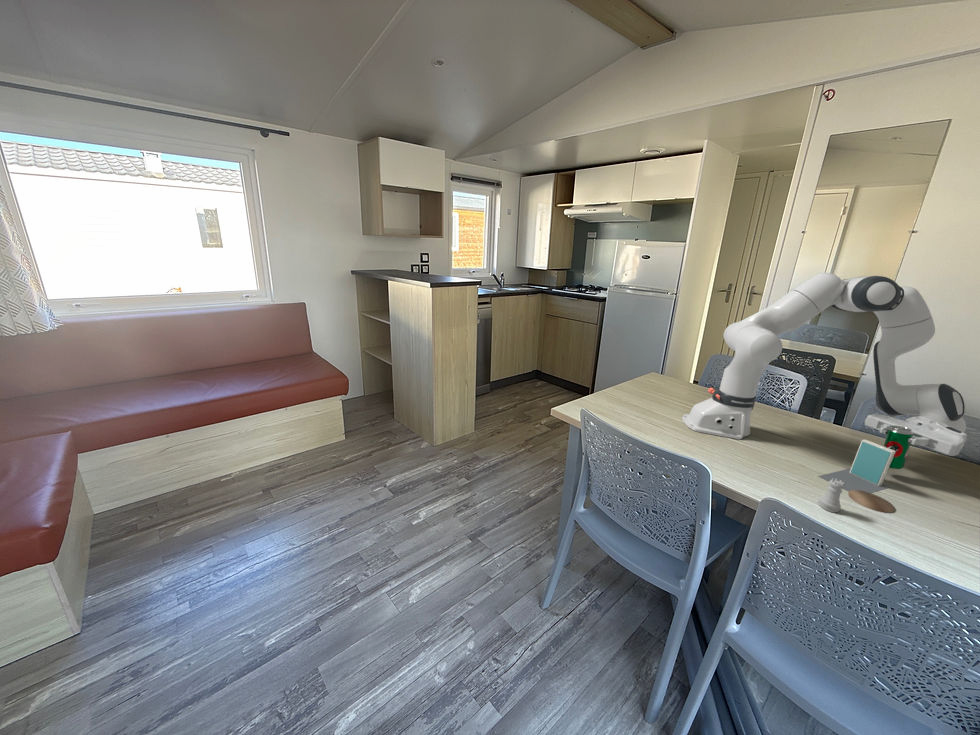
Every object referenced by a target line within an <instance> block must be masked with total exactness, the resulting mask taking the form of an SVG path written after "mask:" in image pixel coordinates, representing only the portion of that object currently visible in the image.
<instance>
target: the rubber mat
mask: <svg viewBox="0 0 980 735" xmlns="http://www.w3.org/2000/svg"><path fill="white" fill-rule="evenodd" d="M850 469H851V468H846V469H842V470H838V471H833V472H830V473H826V474H822V475H818V476H817V477H818V478H821V479H822V480H824V481H826V482H828V483H829V481H830V480H832V478H834V480H835V479H838V481H840V480H841V481H843V482H844V483H845V484H844V485H845V488H844V489H843V490H844V491H846V492H847V493H849V491H851V490H859V491H864V492H868V493H871V494H874V493H877V492H880V491H884V490H886V489H890V488H891V487H890V486H888V485H886V484H884V483H882V485H880V486H877V485H875V484H873V483H871V482H869V481H867V480H864V479H862V478H860V477H858V476H856V475H854V474H851V473H849V472H850ZM843 482H842V483H843Z"/></svg>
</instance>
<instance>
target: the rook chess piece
mask: <svg viewBox="0 0 980 735" xmlns="http://www.w3.org/2000/svg"><path fill="white" fill-rule="evenodd" d="M842 482H843V481H841V480H840V481H838V479H835V480H834V478H832V480H830V481H829V482H828V484H829V486H827V488H828V489H827V491H826V493H825V494H824V495H822V496H821V497H819V499H818V501H817V504H818V506H819V507H820V508H821V509H823V510H825V511H827V512H829V513H839V512H840V511H841V507H842V505H841V504H840V496H841V494H842V493H843V490H844V488H845V485H844V484H845V483H844V482H843V483H842Z"/></svg>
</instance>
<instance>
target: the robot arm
mask: <svg viewBox="0 0 980 735" xmlns="http://www.w3.org/2000/svg"><path fill="white" fill-rule="evenodd" d="M923 297H924V296H922V294H921V293H920V292H919V290H917V288H915V287H913V286H900V285H899V284H898V283H897V282H896V281H895V280H893V279H891V278H890V277H887V276H883V275H872V276H871V275H870V276H857V277H852V278H845V279H841V277H839V276H838V275H836V274H833V273H831V272H821V273H818V274H816V275H814V276H811V277H810V278H808V279H806V280H805V281H803V282H801V283H800V284H798V285H797V286H795V287H794V288H793V289H791V290H790V291H788V292H787V293H786V294H784V295H783V296H782V297H780V298H778V299H777V300H776V301H775V302H773V303H772V304H771V305H770V304H769V306H767V307H765V308H763V309H762V310H759V311H758V312H756V313H754V314H752V315H750V316H749V317H748V316H747V317H746V318H744V319H742V320H739V321H736V322H733V323H731V324H729V325H728V326H727V327H725V330H724V332H723V339H724V342H725V344H726V345H727V346H728V347H729V349H731V350H732V351H734V352H735V353H734V357H733V359H732V360H731V363H730V364H729V365H728V366H726V367H725V368H724V370H723V374H722V378H721V380H720V381H721V382H720V386H719V388H718V389H716V390H715V388H713V387H709V388H708V390H707V391H708V393H710V395H712V396H711V397H710V398H707V399H705V400H703V401H701V402H697V403H696V404H694V405H693V406H692V408H691V410H690V412H689V413H684V414H683V415H682V418H681V420H682V421H683V423H684V424H685V426H686V427H688V428H690V430H693V431H694V432H698V433H701V434H702V433H703V434H709V435H714V436H718V437H719V436H720V437H724V438H731V439H735V440H742V439H743V438H744V437H747V436H750V435H751V415H752V411H753V409H754V407H755V403H756V398H757V397H756V393H757V390H758V387H759V383H760V381H761V377H762V375H763V373H764V372H765V370H766V368H767V367H768V365H769V364H770V363H771V362H772V361H774V360H776V359H777V358H778V357H779V356H780V355H781V353H782V352H783V351H782V350H783V348H784V347H783V342H782V340H781V339H780V338H779V336H781V335H783V334H785V333H789V332H794V331H796V330H798V329H799V328H801V327H802V326H804V325H805V324H807V322H809V321H810V320H812V319H813V318H814V317H816V316H818V315H820V313H822V312H823V311H824V310H826V309H827V308H829V307H832V308H833V309H834V308H835V309H837V310H840V311H844V312H854V313H866V312H870V313H871V312H872V313H874V315H875V316H876V318H877V319H878V323H879V326H880V329H881V337H880V339H879V340H878V341H877V342H875V344H874V346H873V349H872V350H873V355H872V356H873V368H874V369H873V370H874V378H875V379H874V380H875V405H876V407H877V408H878V409H879V410H880V411H882V412H883V413H884V414H883V413H877V414H876V413H875V414H874V413H873V414H868V415H867V416H866V418H865V421H864V425H865V426H866V427H869V428H871V429H874V430H877V431H879V432H878V434H879V433H880V434H882V435H884V436H886V435H887V431H888V429H889V428H890V426H902V427H906V428H909V429H911V430H912V431H911V432H912V433H913V436H912V437H911V438H909V440H908V443H909V444H910V445H912V446H922V447H924V448H927V449H929V450H932V451H935V452H938V453H940V454H943V455H946V456H950V457H955V456H958V455H959V453H960V452H961V450H962V449H963V447H964V445H965V443H966V440H967V437H968V434H967V433H965V431H966V429H967V422H966V420H965V419H964V418H963V416H964V414H965V410H966V409H965V401H964V398H963V395H962V394H961V393H960V392H959V391H958V390H957V389H956V388H954V387H953V386H950V385H949V384H947V383H927V384H909V385H908V384H907V385H902V384H899V383H898V382H897V375H896V363H895V362H896V360H897V358H898V357H899V356H902V355H904V354H907V353H909V352H912V351H914V350H917V349H919V348H921V347H923V346H924V345H926V344H927V343H928V342H930V341H931V340H932V339H933V337H934V336H935V334H936V326H935V322H934V319H933V316H932V313H931V311H930V308H929V306H928V305H927V302H926V301H925V299H924V298H923ZM907 415H908V416H909V415H910V416H911V415H912V417H908V418H906V419H905V420H903V419H901V418H896V417H895V416H897V417H898V416H907Z"/></svg>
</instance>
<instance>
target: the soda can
mask: <svg viewBox="0 0 980 735" xmlns="http://www.w3.org/2000/svg"><path fill="white" fill-rule="evenodd" d="M911 431H912V430H911V429H909V428H906V427H902V426H890V428H889V429H888V431H887V435H885V440H884V442H883V446H884V447H886V448H889V449H891V450H894V451H896V452H895V454H894V457H893V459H892V461H891V464H890V466H889V468H888V469H893V470H901V469H904V468H905V465H906V461H907V458H908V455H909V450H910V446H911V444H909V443H908V440H909V438H911V437H912V436H913V433H912V432H911Z"/></svg>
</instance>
